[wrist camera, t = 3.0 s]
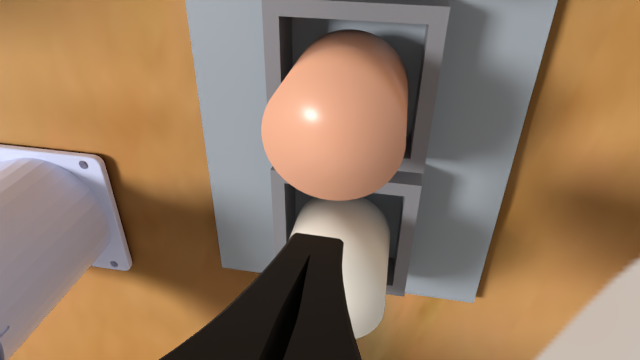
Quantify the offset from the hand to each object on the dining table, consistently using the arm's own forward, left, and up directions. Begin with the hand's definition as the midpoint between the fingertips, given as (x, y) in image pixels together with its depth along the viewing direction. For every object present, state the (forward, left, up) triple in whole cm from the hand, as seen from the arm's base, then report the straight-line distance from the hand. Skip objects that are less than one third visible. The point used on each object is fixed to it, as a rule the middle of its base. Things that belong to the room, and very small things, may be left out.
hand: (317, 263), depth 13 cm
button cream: (0, -5, -7) cm, 9 cm away
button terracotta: (0, +2, -7) cm, 8 cm away
